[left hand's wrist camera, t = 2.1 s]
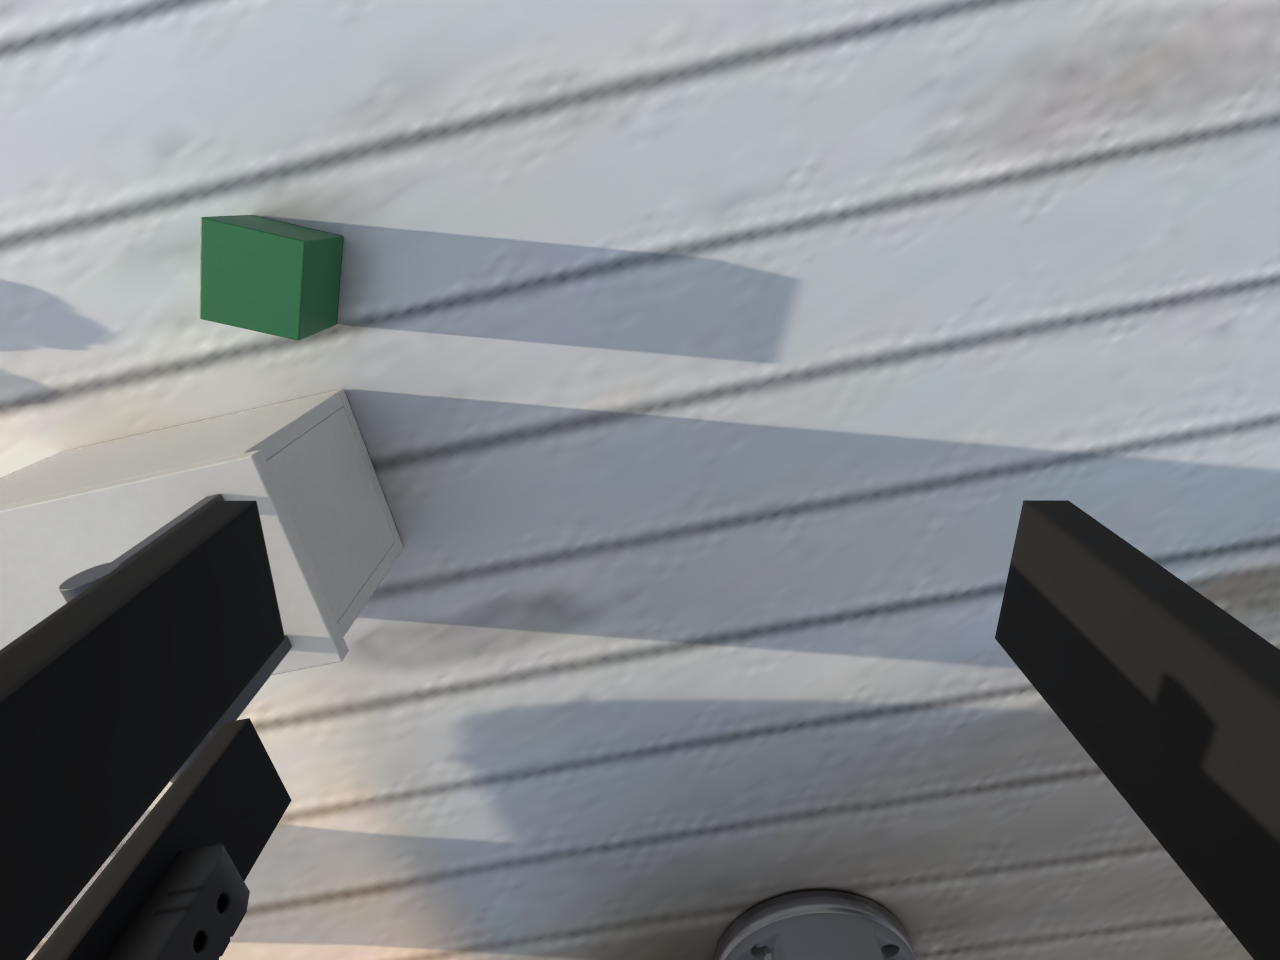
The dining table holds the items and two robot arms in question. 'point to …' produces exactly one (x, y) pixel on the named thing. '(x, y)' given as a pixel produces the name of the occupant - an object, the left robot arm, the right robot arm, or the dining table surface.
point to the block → (269, 275)
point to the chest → (301, 465)
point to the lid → (133, 519)
